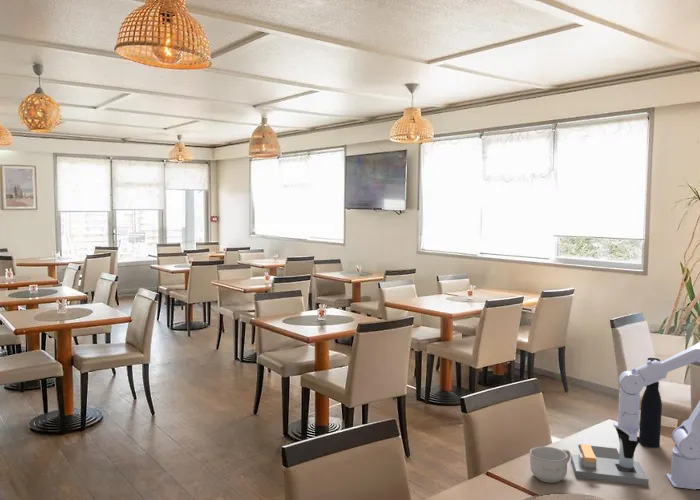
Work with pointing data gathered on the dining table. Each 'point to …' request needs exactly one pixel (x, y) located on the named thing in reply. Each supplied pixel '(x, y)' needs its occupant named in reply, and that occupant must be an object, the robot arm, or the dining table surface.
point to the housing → (608, 470)
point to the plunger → (587, 453)
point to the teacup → (549, 463)
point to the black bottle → (651, 415)
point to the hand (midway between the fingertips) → (626, 454)
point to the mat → (604, 452)
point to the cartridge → (625, 461)
